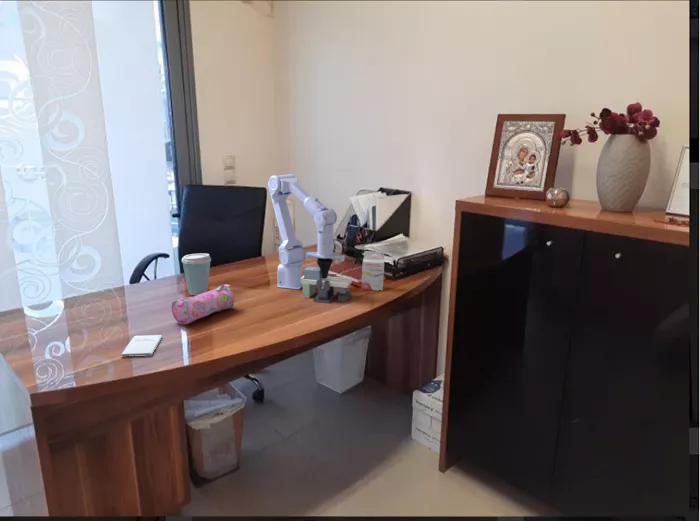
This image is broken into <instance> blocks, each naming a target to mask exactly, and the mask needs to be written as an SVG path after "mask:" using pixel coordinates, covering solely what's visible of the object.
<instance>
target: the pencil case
mask: <svg viewBox="0 0 700 521" xmlns="http://www.w3.org/2000/svg"><path fill="white" fill-rule="evenodd" d="M230 287H231V285H230V284H227V283H226V284H222V285H219V286H218V287H217V288H213V289H212V290H209V291H208V290H207V291H206V292H205V293H202V294H200V295H197V296H196V295H193V296H189V297H182V298H178V299H175V300H173V302H172V304H171V313H172V316H173V318H174V319H175V321H176V322H177V324H180V325H189V324H191V323H193V322H196V320H199V319H201V318H205V317H208V316H209V315H212V314H214V313H219V312H222V311H225V310H229V309H232V308H234V306H235V305H234V304H235V294H234V292H233V289H232V288H230Z"/></svg>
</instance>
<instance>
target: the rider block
mask: <svg viewBox="0 0 700 521" xmlns="http://www.w3.org/2000/svg"><path fill="white" fill-rule="evenodd" d="M303 276H304V279H309V280H321V279H322V273H321V270H320V268H319V266H317V267H316V266H306V268H304V269H303Z"/></svg>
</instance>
